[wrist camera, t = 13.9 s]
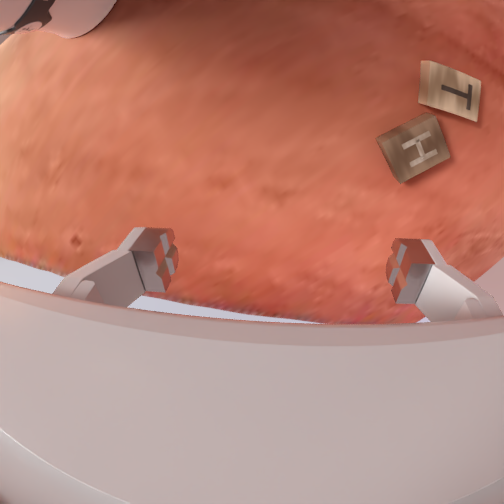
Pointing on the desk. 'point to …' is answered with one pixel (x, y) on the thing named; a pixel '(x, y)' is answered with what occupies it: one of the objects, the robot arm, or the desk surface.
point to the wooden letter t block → (449, 90)
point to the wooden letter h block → (414, 147)
